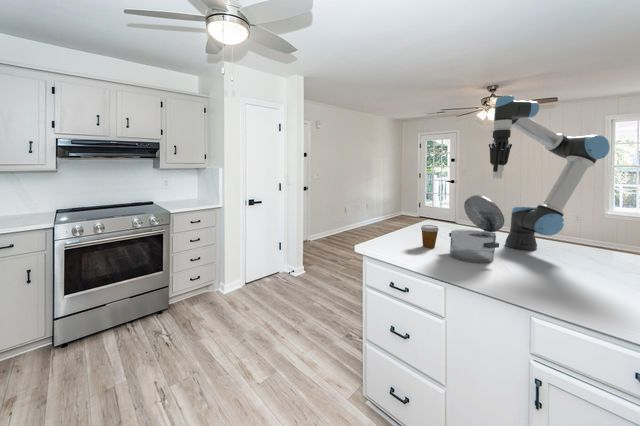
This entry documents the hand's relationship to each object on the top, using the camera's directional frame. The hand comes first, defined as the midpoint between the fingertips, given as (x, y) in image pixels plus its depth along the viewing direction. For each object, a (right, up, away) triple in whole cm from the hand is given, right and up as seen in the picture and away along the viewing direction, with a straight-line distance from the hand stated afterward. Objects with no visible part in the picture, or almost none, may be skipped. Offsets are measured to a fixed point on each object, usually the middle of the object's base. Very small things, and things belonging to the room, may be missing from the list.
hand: (497, 178), depth 150 cm
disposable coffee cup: (-27, -37, +20) cm, 50 cm away
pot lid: (-8, -18, 0) cm, 20 cm away
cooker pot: (-12, -40, +2) cm, 42 cm away
